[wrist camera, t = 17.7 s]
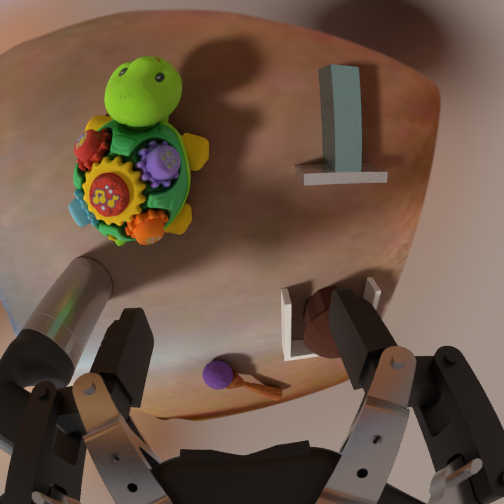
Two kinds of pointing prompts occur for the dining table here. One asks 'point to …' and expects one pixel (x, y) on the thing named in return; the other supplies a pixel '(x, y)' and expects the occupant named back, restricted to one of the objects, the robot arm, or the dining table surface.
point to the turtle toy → (137, 158)
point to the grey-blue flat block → (340, 132)
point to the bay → (297, 347)
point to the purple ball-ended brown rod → (234, 380)
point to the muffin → (319, 324)
